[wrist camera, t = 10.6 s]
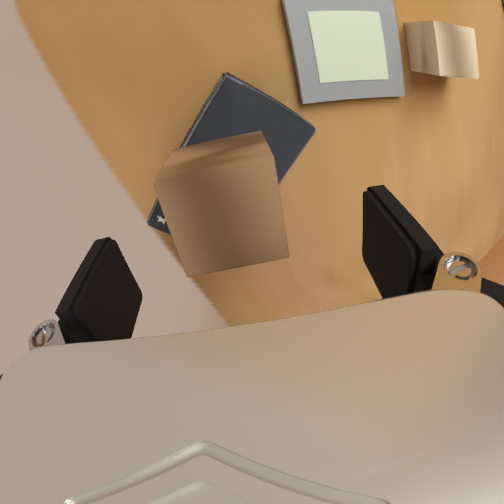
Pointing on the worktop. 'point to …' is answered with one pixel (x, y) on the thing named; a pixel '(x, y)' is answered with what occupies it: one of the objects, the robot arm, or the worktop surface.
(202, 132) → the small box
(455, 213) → the worktop surface
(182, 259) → the walnut cube
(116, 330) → the robot arm
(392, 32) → the grey square plate
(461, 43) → the oak cube
